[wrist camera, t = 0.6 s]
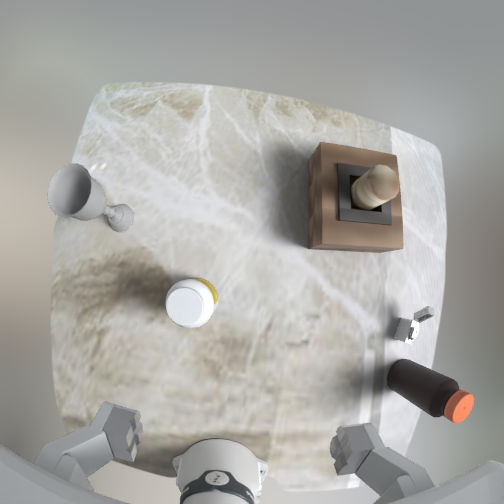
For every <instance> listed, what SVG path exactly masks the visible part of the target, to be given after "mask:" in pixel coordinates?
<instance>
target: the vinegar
mask: <svg viewBox="0 0 504 504" xmlns="http://www.w3.org/2000/svg"><path fill="white" fill-rule="evenodd" d="M387 382H388V385H389V387H390V388H391V389H392V390H394V391H395V392H397V393H398V394H400V395H401V396H403V397H404V398H406V399H407V400H409V401H410V402H411V403H413V404H414V405H416V406H417V407H419V408H420V409H422V410H423V411H425V412H426V413H428V414H429V415H431V416H433V417H440V416H443V415H444V416H445V417H446V418H447V419H449V420H450V421H452V422H453V423H460V422H461V421H463V420H464V419H465V418H466V417H467V416H468V414H469V413H470V411H471V409H472V407H473V403H474V397H473V395H472V394H470V393H468V392H466V391H463V390H459V386H458V383H457V382H456V381H455V380H453V379H451V378H449V377H447V376H444V375H442V374H440V373H437V372H435V371H433V370H431V369H429V368H426V367H424V366H422V365H420V364H417V363H415V362H413V361H411V360H407V359H403V360H400V361H398V362H396V363H395V364H394V365H393V366H392V368H391V369H390V371H389V373H388V377H387Z"/></svg>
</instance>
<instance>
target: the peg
mask: <svg viewBox="0 0 504 504" xmlns="http://www.w3.org/2000/svg"><path fill="white" fill-rule="evenodd" d="M398 192H399V180H398V177H397V175H396V174H395V172H394V171H393V170H392V169H391V168H389V167H388V166H385V165H381V164H379V165H375V166H373V167H372V168H371V169H370V170H369V171H367V172H366V173H365V174H364V175H362V176H361V177H360V178H359V179H357V180H356V181H355V182H354V183H352V184H351V185H350V196H351V207H352V208H353V209H356V210H365V211H369V210H371V209H373V208H375V207H377V206H379V205H381V204H383V203H385V202H387V201H389V200H391V199H393V198H394V197H396V195H397V194H398Z"/></svg>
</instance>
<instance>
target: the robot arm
mask: <svg viewBox="0 0 504 504" xmlns="http://www.w3.org/2000/svg"><path fill="white" fill-rule="evenodd" d="M140 417H141V416H140V411H137V410H133V409H130V408H126V407H123V406H119V405H116V404H112V403H109V402H106V401H105V402H104V403H103V404H102V405H101V407H100V409H99V411H98V412H97V414H96V416H95V418H94V420H93V421H92V423H91V425H90V427H89V426H85V427H83V428H80V429H78V430H76V431H74V432H72V433H70V434H67V435H65V436H63V437H61V438H58V439H56V440H54V441H51V442H49V443H47V444H45V446H44V447H43V449H42V450H41V452H40V454H39V455H38V457H37V459H36V460H35V462H34V464H32V463H31V462H29V461H27V460H26V459H24V458H22V457H21V456H19V455H17V454H16V453H14V452H13V451H11V450H10V449H8V448H6V447H5V446H4V445H2V444H1V443H0V504H129V503H125V502H122V501H118V500H115V499H112V498H109V497H106V496H103V495H101V494H98V493H95V492H93V490H94V489H93V487H92V486H91V484H90V482H89V481H88V479H87V477H88V476H90V475H91V474H92V473H94V472H95V471H97V470H98V469H100V468H101V467H103V466H104V465H105V464H107V463H108V462H110V461H111V460H112V459H114V457H115V458H119V459H122V460H126V461H130V462H134V459H135V456H136V453H137V448H136V445H138V444H139V443H140V441H141V438H142V432H143V430H142V423H141V422H140V421H139V420H140ZM336 433H337V435H336V436H335V437H333V439H332V441H331V443H330V453H331V457H333V458H334V459H335V460H336V461H335V463H334V466H335V469H336V473H337V475H345V474H352V473H355V474H356V475H357V476H358V477H359V478H360V479H361V480H362V481H363V482H365V483H366V484H367V485H368V486H369V487H370V488H372V489H373V490H374V491H375V492H376V493H378V494H379V495H380V497H379V498H378V500H376V501H375V502H374V504H504V464H502V463H499V462H495V461H491V460H489V461H485V462H483V463H481V464H480V465H478V466H476V467H474V468H473V469H471V470H469V471H467V472H465V473H463V474H461V475H459V476H457V477H455V478H453V479H451V480H448V481H446V482H444V483H442V484H439V485H437V486H434V484H433V482H432V480H431V479H430V477H429V475H428V473H427V471H426V470H425V468H423V467H422V466H420V465H418V464H416V463H414V462H413V461H411V460H409V459H408V458H406V457H404V456H402V455H401V454H399V453H397V452H396V451H394V450H392V449H391V448H389V447H385V446H384V444H383V442H382V440H381V438H380V436H379V434H378V432H377V430H376V428H375V426H374V424H373V423H364V424H354V425H345V426H340V427H338V429H337V431H336ZM172 463H173V466H174V469H175V471H176V474H177V480H176V484H177V485H178V487H179V489H180V491H181V493H182V494H181V497H180V504H259V503H260V497H259V496H261V486H262V483H263V481H264V478H265V476H266V473H267V471H268V463H266V462H265V461H263V460H261V459H258V458H257V457H255V456H254V454H253V453H252V452H251V451H250V450H249V449H247V448H246V447H245V446H243V445H241V444H239V443H236V442H233V441H230V440H224V439H210V440H204V441H201V442H198V443H196V444H194V445H193V446H191V447H190V448H189V449H188V450H187V451H186V452H185V453H184V454H182V455H179V456H176V457H174V458H173V461H172ZM260 470H262V471H260Z"/></svg>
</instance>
